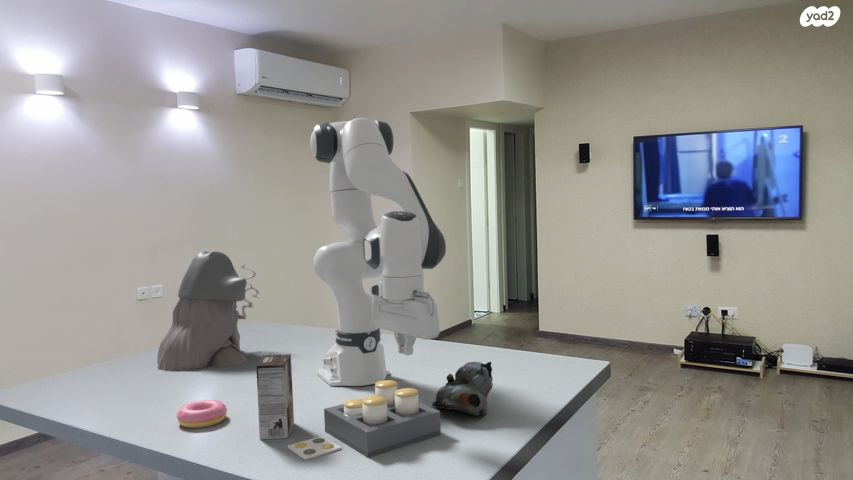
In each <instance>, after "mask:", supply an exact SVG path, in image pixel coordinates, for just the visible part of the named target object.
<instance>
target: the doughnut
mask: <svg viewBox="0 0 853 480" xmlns="http://www.w3.org/2000/svg"><path fill="white" fill-rule="evenodd" d="M227 411H228V409H227V405H226V404H225V403H224V402H223V401H220V400H217V399H216V400H215V399H203V400H197V401H193V402H190V403H188V404H185V405H182V407H180V409H179V410H178V412H177V413H176V415H177V416H176V418H177V423H179V425H180V426H182V427H185V428H187V429H203V428H208V427H212V426H215V425H217V424H219V423H222V421H223V420H224V419H225V418H226V416H227Z"/></svg>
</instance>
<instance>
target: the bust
mask: <svg viewBox="0 0 853 480" xmlns="http://www.w3.org/2000/svg"><path fill="white" fill-rule="evenodd" d="M245 265H246V263H244V264H242V265H240V268H241V269H244V270H250V271H252V275H250V276H248V277H246V278H245V277H242V276H241V277H240V276H239V274H238V272H237V271H236V269H235V267H234V265H233V262H232V260H231V259H230V257H229V256H228V255H227V254H225V253H223V252H220V251H200V252H199V253H197V255H195V256H194V257H193V259H192V260H191V262H190V264H189V266H188V267H187V270H186V271H185V274H184V275H183V278H182V280H181V283H180V285H179V289H178V293H177V297H178V298H179V300H178V301H177V303H176V305H175V307H174V308H173V310H172V324H171V326H170V329H169V330H168V332H167V334H166V335H165V337H164V338H162V341H161V342H160V344H159V347H158V352H157V370H161V371H164V372H167V371H169V372H170V371H171V372H172V371H185V370H186V371H190V370H200V369H203V368H206V367H208V366H214V367H221V368H224V367H235V366H237V365H240V364H245V363H247V361H248V359H247V358H246V357H245V356H244V355H243V354H242V353H243V351H242V350H241V348H240V347H241V346H240V340H241V335H240V333H239V329H238V321H239V320H246V319H247V314H246V311H245V310H246V308H250V309H253V307H254V306H255V305H254V303H253V302H252V301H250V300H248V299H247V298H246V293H247V292H248V291H249V290H254V291H255V292H256V293H255V294H253V295H252V297H253V298H257V299H259V297H258V296H257V295H259V294H260V290H259V289H257V288H255V287H253V284H251V283H248V282H247V280H249V279H253V278H255V277H257V272H256V271H254V270H253V269H251V268H246V267H245ZM247 285H249V287H247ZM243 301H244V302H247V303H248V304H246V303H245V304H242V306H241V314H242V315H241V314H240V313H239V311H238V310H237V308H238V305H237V302H243Z"/></svg>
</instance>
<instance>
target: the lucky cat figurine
mask: <svg viewBox="0 0 853 480" xmlns="http://www.w3.org/2000/svg"><path fill="white" fill-rule="evenodd" d="M492 371H493V368H492V361H489V362H486V363H484V362H481V361H469V362H467V363H465V364H464V365H462V366H460V367H459V368H457V370H456V372H455V373H454V375H453V374H452V373H448V374H447V376H446V380H447V382H446V383H445V384H444V385H442V386H441V387H440V388H439V389H438V390H437V392H436V395H435V401H432V403H431V406H432V407H434V408H435V409H436V410H440V409H445V410H447V409H448V410H455V411H458V412H463V413H466V414H470V415H472V416H473V415H474V416H476V417H479V418H484V417H485V416H486V414H487V410H488V401H487V398H488V395H489V393H490V392H491V390H492V389H493V386H494V384H493V380H494V378H493V376H492Z"/></svg>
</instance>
